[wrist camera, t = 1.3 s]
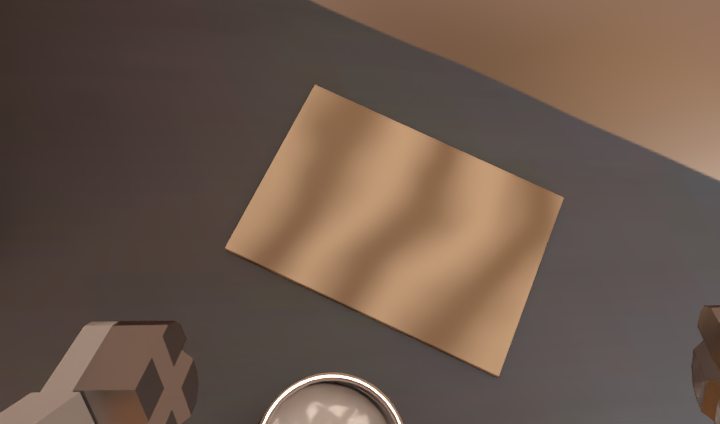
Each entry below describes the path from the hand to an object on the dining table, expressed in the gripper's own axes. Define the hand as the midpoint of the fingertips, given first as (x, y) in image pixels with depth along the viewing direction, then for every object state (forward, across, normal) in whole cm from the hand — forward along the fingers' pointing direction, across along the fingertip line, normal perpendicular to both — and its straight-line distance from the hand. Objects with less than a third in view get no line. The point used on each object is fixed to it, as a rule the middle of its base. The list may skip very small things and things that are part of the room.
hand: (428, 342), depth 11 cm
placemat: (+32, +4, +19) cm, 38 cm away
